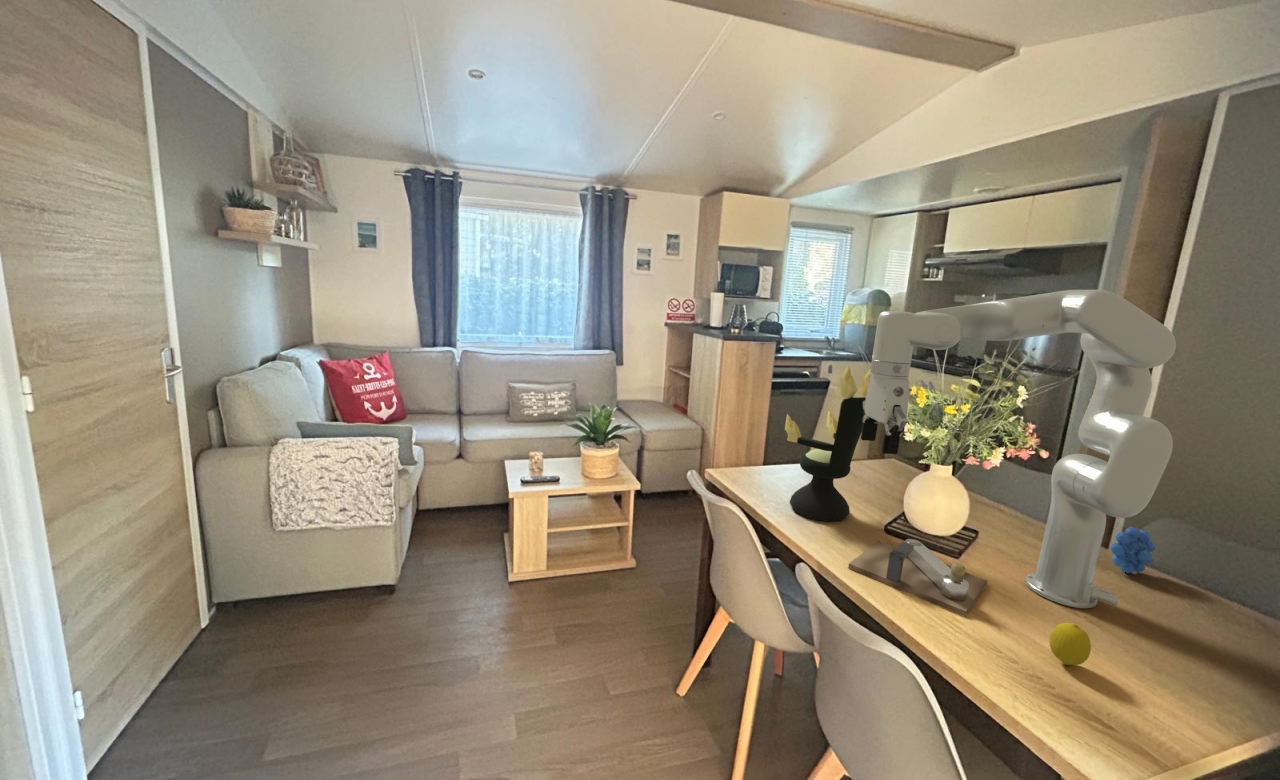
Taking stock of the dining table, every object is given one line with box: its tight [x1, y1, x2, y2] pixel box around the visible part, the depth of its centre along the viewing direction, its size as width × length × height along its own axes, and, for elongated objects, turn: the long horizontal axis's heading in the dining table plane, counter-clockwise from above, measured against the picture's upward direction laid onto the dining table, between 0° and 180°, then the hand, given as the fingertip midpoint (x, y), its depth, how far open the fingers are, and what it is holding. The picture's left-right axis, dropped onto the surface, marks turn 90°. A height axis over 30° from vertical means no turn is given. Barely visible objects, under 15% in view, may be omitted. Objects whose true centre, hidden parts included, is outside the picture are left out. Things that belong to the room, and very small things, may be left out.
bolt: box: [904, 538, 969, 600], centre depth 117 cm, size 21×5×3 cm, turn 0°
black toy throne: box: [784, 365, 871, 522], centre depth 147 cm, size 19×22×45 cm
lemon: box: [1049, 622, 1092, 666], centre depth 91 cm, size 6×6×8 cm
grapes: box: [1109, 526, 1156, 574], centre depth 125 cm, size 12×7×12 cm, turn 98°
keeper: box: [886, 541, 914, 583], centre depth 116 cm, size 2×8×6 cm, turn 135°
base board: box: [848, 540, 988, 618], centre depth 118 cm, size 24×18×8 cm
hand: (878, 446), depth 114 cm, fingers open, 9 cm apart
